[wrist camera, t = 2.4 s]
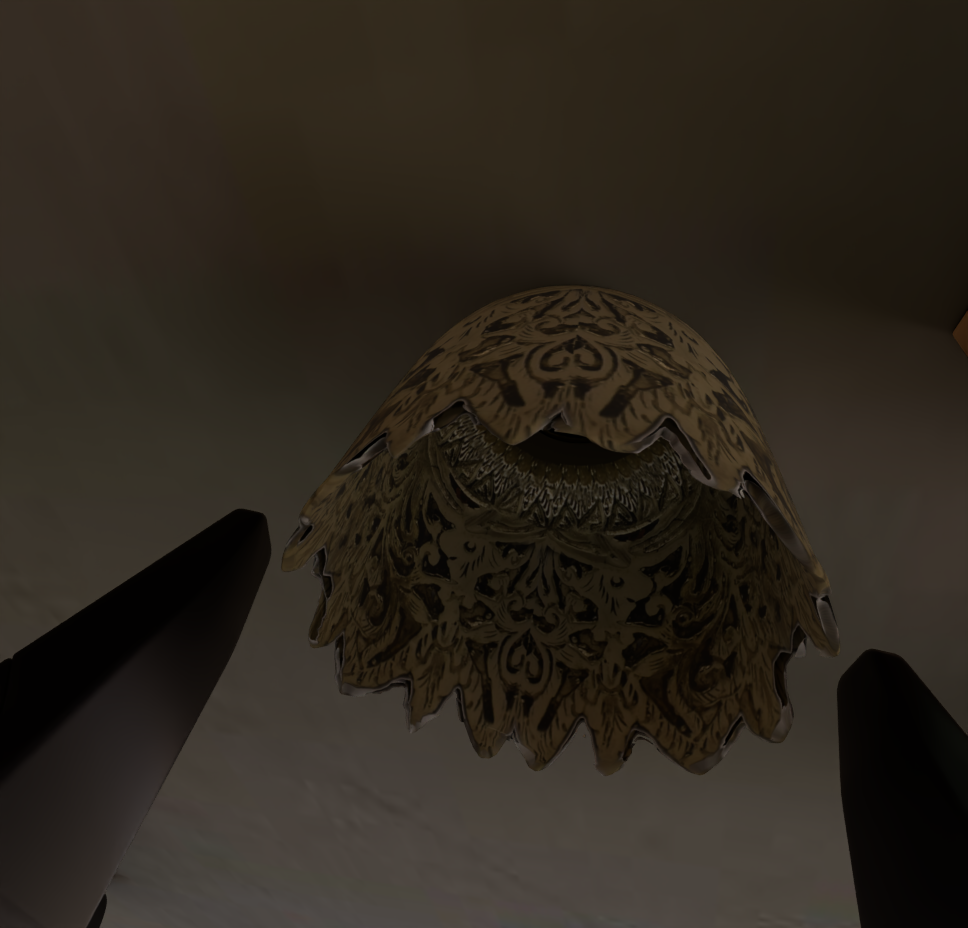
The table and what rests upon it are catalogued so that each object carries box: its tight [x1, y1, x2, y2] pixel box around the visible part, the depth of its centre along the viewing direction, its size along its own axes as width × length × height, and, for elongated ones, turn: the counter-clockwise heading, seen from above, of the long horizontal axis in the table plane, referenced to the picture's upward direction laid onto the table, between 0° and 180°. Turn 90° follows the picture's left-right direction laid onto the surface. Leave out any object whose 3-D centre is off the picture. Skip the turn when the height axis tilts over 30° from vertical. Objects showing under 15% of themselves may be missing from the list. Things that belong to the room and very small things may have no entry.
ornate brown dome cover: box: [281, 285, 840, 776], centre depth 12 cm, size 8×7×8 cm
